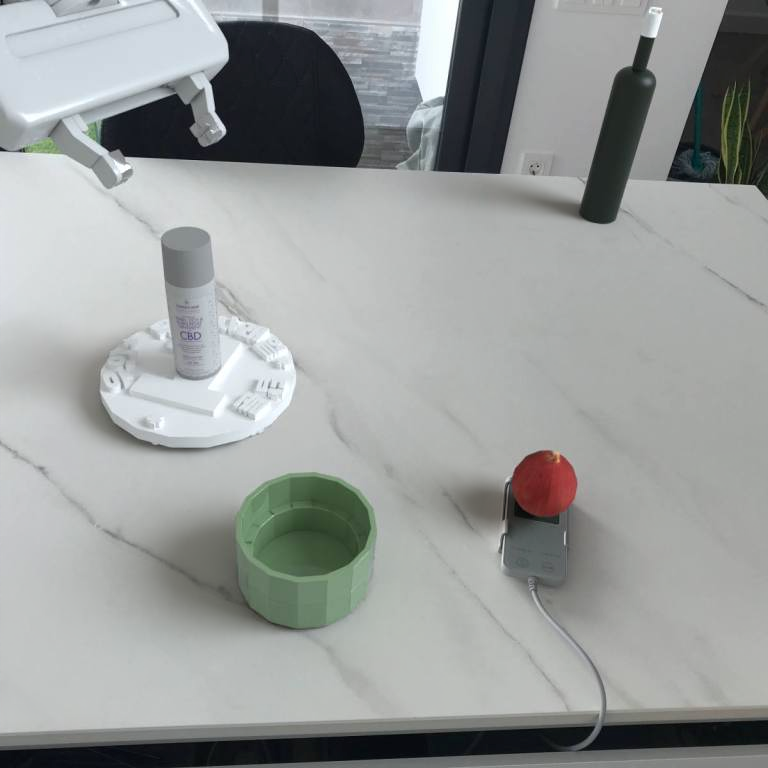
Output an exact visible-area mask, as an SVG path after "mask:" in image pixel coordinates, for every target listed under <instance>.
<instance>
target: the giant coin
mask: <svg viewBox="0 0 768 768" xmlns="http://www.w3.org/2000/svg"><path fill="white" fill-rule="evenodd" d="M218 326H219V340H220V353H221V369H220V370H219V372H218V373H217V374H216V375H214V376H213V377H210V378H208V379H204V380H189V379H185V378H183V377H181V376H180V375H179V374H178V373H177V372H176V369H175V362H174V354H173V346H172V338H171V330H170V322H169V318H163V319H161V320H159V321H157V322H154V323H152V324H151V325H150V327H147V328H145V329H142V330H140V331H137V332H135V333H134V334H132V335H131V336H129V337H125V338H124V339H122V342H121V343H120V344H119V345H118V346H116V347H115V348H114V349H110V351H109V356H108V357H107V359H106V361H105V363H104V364H103V366H102V367H101V369H100V381H99V394H100V399H101V403H102V404H103V406H104V408H105V410H106V412H107V413H108V415H109V416H110V417H109V418H111V421H112V422H113V423H114V424H115V425H117V426H118V427H120V428H121V429H123V430H124V431H126V432H128V433H129V434H130V435H132V436H133V437H135V438H136V439H138V440H142V441H145V442H149V443H151V445H154V446H158V445H161V446H164V447H167V448H186V449H187V448H197V449H199V448H200V449H201V448H202V449H203V448H207V449H209V448H213V447H216V446H220V445H221V446H222V445H225V444H229V443H234V442H237V441H242V440H245V439H247V438H249V437H254V436H256V435H258V434H262V433H264V432H265V428H266V427H269V426H271V425H273V423H274V422H275V421H276V419H278V418H279V416H280V415H281V414H282V413H283V412H284V411H285V410H286V409H287V408H288V407H289V406H290V404H291V401H292V398H293V395H294V392H295V388H296V384H297V371H296V367H295V363H294V360H293V355H292V352H291V351H290V350H289V349H288V346H287V345H286V344H284V343H283V342H282V341H281V339H279V338H278V337H277V336H276V334H275V335H274V333H271V332H270V327H269V328H268V327H266V326H263V325H259V324H256V323H253V322H250V321H242V320H239V316H237V315H232V316H231V317H227V315H219V316H218Z"/></svg>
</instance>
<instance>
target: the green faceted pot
mask: <svg viewBox="0 0 768 768" xmlns="http://www.w3.org/2000/svg"><path fill="white" fill-rule="evenodd" d="M377 537H378V526H377V521H376V515H375V509H374V507H373V506H372V504H371V503H370V502H369V501H368V499H367V498H366V496H365V495H364V494H363V492H362V491H361V490H360V489H358V488H357V487H355V486H354V485H352V484H351V483H349V482H347V481H346V480H344V479H342V478H341V477H338V476H333V475H329V474H325V473H321V472H317V471H305V472H304V471H303V472H290V473H289V472H288V473H285V474H283V475H281V476H278V477H275V478H272V479H270V480H266V481H265V482H263V483H261V485H259V486H258V487H257V488H256V489H255V490H253V491H251V493H250V494H248V495H247V496H246V497H245V498H244V500H243V502H242V504H241V506H240V508H239V509H238V512H237V514H236V516H235V548H236V549H235V550H236V562H237V576H238V587H239V589H240V591H241V593H242V595H243V597H244V598H245V600H246V602H247V604H248V606H249V607H250V608H251V609H252V610H254V611H255V612H257V613H258V614H259V615H260V616H261V617H263V618H264V619H266V620H267V621H268V622H270V623H272V624H273V623H274V624H277V625H280V626H284V627H289V628H292V629H296V630H300V629H311V628H323V627H326V626H328V625H330V624H332V623H335V622H337V621H340V620H341V619H344V618H345V617H348V616H349V615H350V614H351V613H352V612H353V611H354V610H355V609H356V608H357V607H358V606H359V604H361V603H362V601H363V600H364V599H365V598H366V596H367V593H368V591H369V588H370V584H371V581H372V577H373V571H374V562H375V561H374V560H375V552H376V545H377V544H376V543H377Z"/></svg>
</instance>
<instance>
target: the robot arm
mask: <svg viewBox="0 0 768 768" xmlns="http://www.w3.org/2000/svg"><path fill="white" fill-rule="evenodd" d="M229 59H230V53H229V44H228V41H227V39H226V36H225V35H224V33H223V32H222V30H221V27H220V26H219V25H218V24H217V22H216V20H215V19H214V17H213V16H212V14H211V12H210V11H209V10H208V8H207V7H206V5H205V3H204V2H203V1H202V0H0V148H2V149H4V150H6V151H9V152H17V151H19V150H21V149H24V148H27V147H29V146H33V145H35V144H38V143H40V142H44V141H46V140H50V139H51V141H52V142H53V143H54V145H55V146H56V147H57V150H59V152H60V153H62V154H63V155H64V156H66V157H68V158H70V159H71V160H74V161H75V162H77V163H78V164H80V165H82V166H84V167H85V168H87V169H88V170H90V169H91V171H92V172H93V173H94V174H95V176H96V177H97V179H98V181H99V182H100V183H101V184H102V186H103V187H104V188H105V189H106V190H111V189H113V188H116V187H119V186H120V185H122V184H124V183H126V182H127V181H128V180H129V179H130V178H131V177H132V176H133V174H134V170H133V167H132V165H131V164H130V163H129V162H127V161H126V157H125V156H124V154H123V153H122V151H121V150H120V149H119V148H118V149H116V150H112V151H109V150H108V149H106V148H105V147H104V146H102V145H101V144H100V143H98V142H96V141H95V140H93V139H92V138H91V137H90V136H88V135H86V134H87V133H88V131H89V129H90V128H89V127H88V125H91V124H94V123H97V122H99V121H102V120H105V119H107V118H108V119H109V118H111V117H114V116H117V115H119V114H122V113H125V112H128V111H130V110H131V111H132V110H133V109H136V108H138V107H141V106H145V105H147V104H151V103H153V102H156V101H158V100H161V99H164V98H167V97H170V96H173V95H175V94H177V96H178V97H179V98H180V99H181V101H182V102H183V104H184V105H189V104H190V105H191V110H192V114H193V117H194V123H193V124H192V125H191V126H190V127H189V130H190V132H191V133H192V135H193V136H194V137H195V138H197V142H198V143H199V145H200V146H202V147H203V148H204V147H208V146H211V145H213V144H216V143H218V142H219V141H220V140H221V139H223V138H224V136H226V134H227V129H226V126H225V125H224V123H223V121H222V120H221V118H220V117H219V116H218V114H217V113H216V106H215V100H214V93H213V86H212V84H211V80H212V79H214V78H215V77H216V75H217V74H218V73H219V72H220V71H221V70H222V69H223V68H224V66H226V65H227V63H228V62H229Z"/></svg>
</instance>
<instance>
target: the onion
mask: <svg viewBox="0 0 768 768" xmlns="http://www.w3.org/2000/svg"><path fill="white" fill-rule="evenodd" d="M578 483H579V482H578V478H577V475H576V472H575V469H574V467H573V465H572V464H571V463H570V461H568V459H567V458H566V457H565V456H564V455H562V454H561V452H560V451H558V450H551V449H550V450H548V449H545V450H544V449H542V450H541V449H540V450H537V451H535V452H532V453H529V454H527V455H526V456H524V457H523V459H521V461H520V462H519V463H518V464H517V465H516V467H515V468H514V470H513V473H512V478H511V490H512V493H513V497H514V499H515V501H516V503H517V504H518V505H519V506H520V508H522V510H523V511H525V512H526V513H528V514H530V515H532V516H535V517H539V518H554V517H555V516H558V515H560V514H562V513H564V512H565V511H566V510H567V509H568V508H570V506H571V505H572V504H573V503H574V501H575V499H576V495H577V491H578V486H579V484H578Z"/></svg>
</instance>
